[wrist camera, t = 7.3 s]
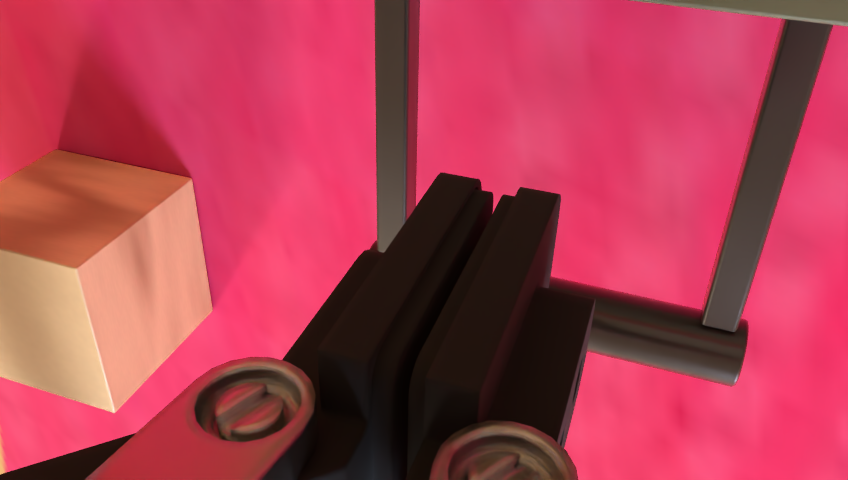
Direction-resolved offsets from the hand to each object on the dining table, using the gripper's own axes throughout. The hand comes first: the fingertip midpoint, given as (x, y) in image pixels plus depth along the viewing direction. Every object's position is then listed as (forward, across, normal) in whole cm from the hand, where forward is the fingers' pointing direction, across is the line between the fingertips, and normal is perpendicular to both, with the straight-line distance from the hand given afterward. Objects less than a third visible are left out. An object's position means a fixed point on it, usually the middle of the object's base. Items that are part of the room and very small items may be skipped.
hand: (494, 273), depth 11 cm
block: (+8, +14, +7) cm, 17 cm away
